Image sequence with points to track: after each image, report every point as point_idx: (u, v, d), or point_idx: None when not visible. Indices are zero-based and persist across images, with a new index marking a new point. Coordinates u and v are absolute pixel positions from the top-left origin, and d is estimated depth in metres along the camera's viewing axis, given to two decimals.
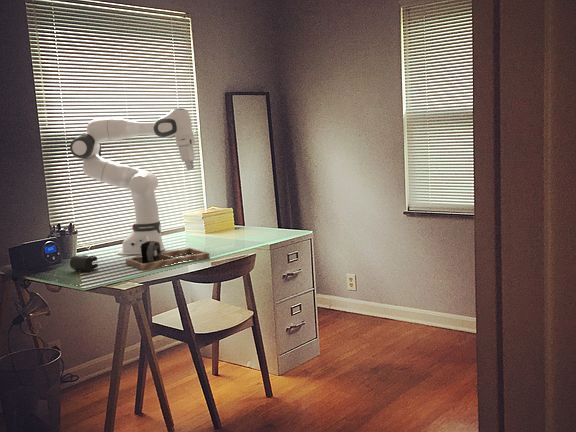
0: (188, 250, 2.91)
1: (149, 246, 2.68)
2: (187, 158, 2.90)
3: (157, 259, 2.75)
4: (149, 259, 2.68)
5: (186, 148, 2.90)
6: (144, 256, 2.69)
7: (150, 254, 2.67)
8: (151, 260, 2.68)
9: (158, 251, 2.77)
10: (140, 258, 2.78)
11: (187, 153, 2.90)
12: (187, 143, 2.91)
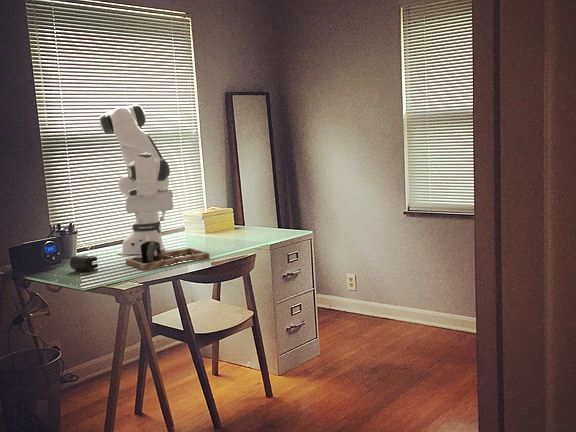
0: (188, 250, 2.91)
1: (149, 246, 2.68)
2: None
3: (157, 259, 2.75)
4: (149, 259, 2.68)
5: None
6: (144, 256, 2.69)
7: (150, 254, 2.67)
8: (151, 260, 2.68)
9: (158, 251, 2.77)
10: (140, 258, 2.78)
11: None
12: (127, 194, 2.67)
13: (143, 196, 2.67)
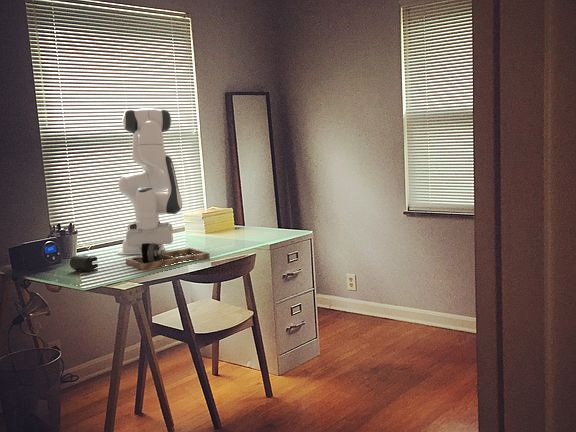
0: (188, 250, 2.91)
1: (150, 246, 2.68)
2: None
3: (157, 259, 2.75)
4: (150, 259, 2.68)
5: (126, 233, 2.70)
6: (145, 256, 2.69)
7: (151, 254, 2.67)
8: (152, 260, 2.68)
9: None
10: (140, 258, 2.78)
11: None
12: None
13: (143, 230, 2.69)
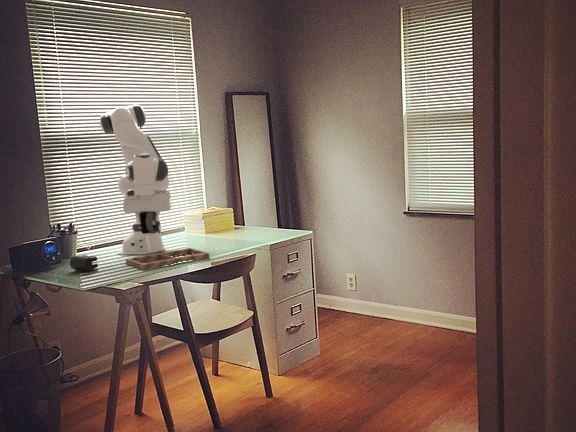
0: (188, 250, 2.91)
1: (148, 214, 2.67)
2: None
3: (155, 228, 2.74)
4: (148, 227, 2.66)
5: (124, 199, 2.68)
6: (143, 225, 2.67)
7: (149, 222, 2.66)
8: (150, 228, 2.67)
9: None
10: (140, 258, 2.78)
11: None
12: (125, 194, 2.67)
13: (140, 196, 2.67)
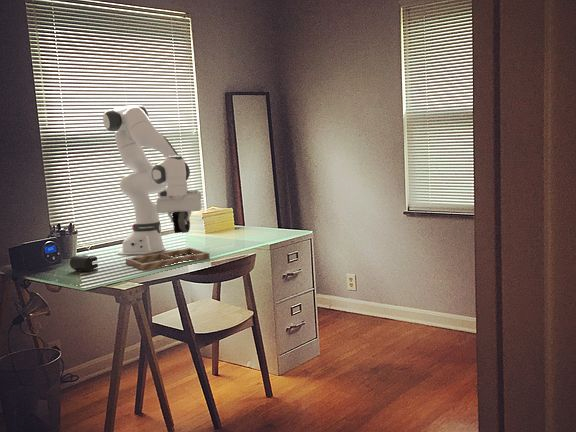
0: (188, 250, 2.91)
1: (180, 214, 2.75)
2: (156, 210, 2.78)
3: (187, 228, 2.82)
4: (181, 226, 2.75)
5: (157, 200, 2.77)
6: (175, 224, 2.75)
7: (182, 221, 2.74)
8: (183, 227, 2.75)
9: (187, 221, 2.84)
10: (140, 258, 2.78)
11: None
12: (158, 195, 2.76)
13: (173, 197, 2.75)
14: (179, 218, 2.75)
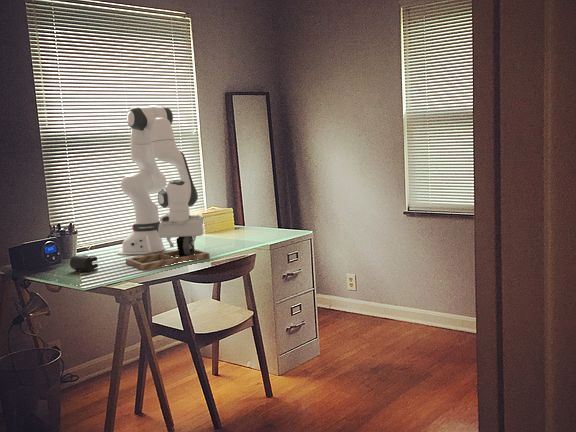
0: None
1: (184, 239, 2.77)
2: (158, 235, 2.79)
3: (192, 252, 2.84)
4: (186, 252, 2.77)
5: (159, 225, 2.78)
6: (180, 250, 2.77)
7: (186, 247, 2.76)
8: (188, 253, 2.77)
9: None
10: (140, 258, 2.78)
11: None
12: (160, 220, 2.77)
13: (175, 222, 2.77)
14: (184, 244, 2.76)
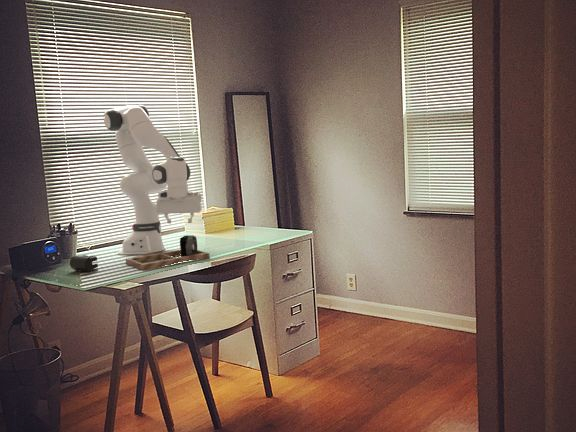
0: None
1: (188, 240, 2.77)
2: (156, 211, 2.78)
3: (194, 253, 2.84)
4: (188, 252, 2.77)
5: (157, 200, 2.77)
6: (183, 250, 2.77)
7: (189, 248, 2.76)
8: (190, 253, 2.77)
9: (195, 245, 2.85)
10: (140, 258, 2.78)
11: (156, 206, 2.77)
12: (158, 196, 2.76)
13: (173, 198, 2.76)
14: (187, 244, 2.76)
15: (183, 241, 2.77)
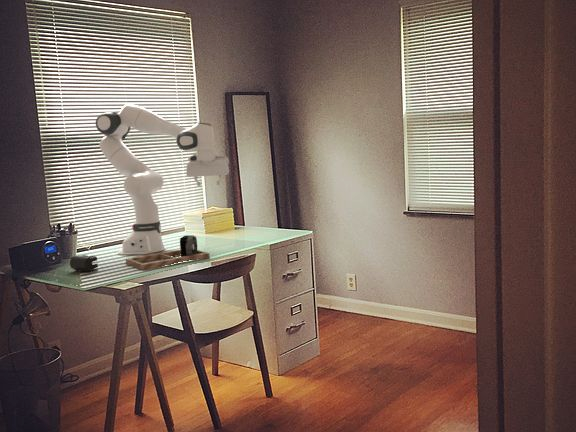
0: None
1: (188, 240, 2.77)
2: None
3: (194, 253, 2.84)
4: (188, 253, 2.77)
5: (187, 164, 2.94)
6: (183, 250, 2.77)
7: (189, 248, 2.76)
8: (190, 253, 2.77)
9: (195, 245, 2.85)
10: (140, 258, 2.78)
11: None
12: (188, 160, 2.93)
13: (202, 161, 2.93)
14: (187, 244, 2.76)
15: (183, 241, 2.77)
